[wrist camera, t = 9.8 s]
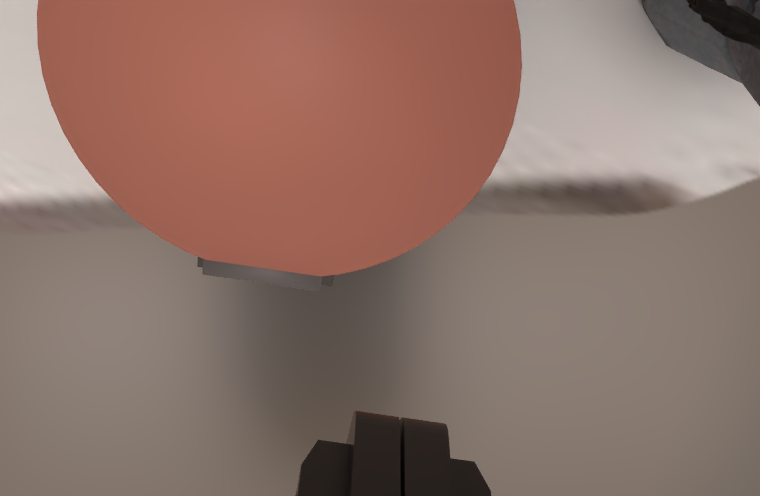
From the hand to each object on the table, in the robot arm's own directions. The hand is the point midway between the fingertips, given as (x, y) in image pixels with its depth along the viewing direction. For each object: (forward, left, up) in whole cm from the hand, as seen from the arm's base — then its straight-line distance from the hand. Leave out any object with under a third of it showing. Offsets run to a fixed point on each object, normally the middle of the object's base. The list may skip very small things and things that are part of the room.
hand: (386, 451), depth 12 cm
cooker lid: (0, -4, -18) cm, 18 cm away
